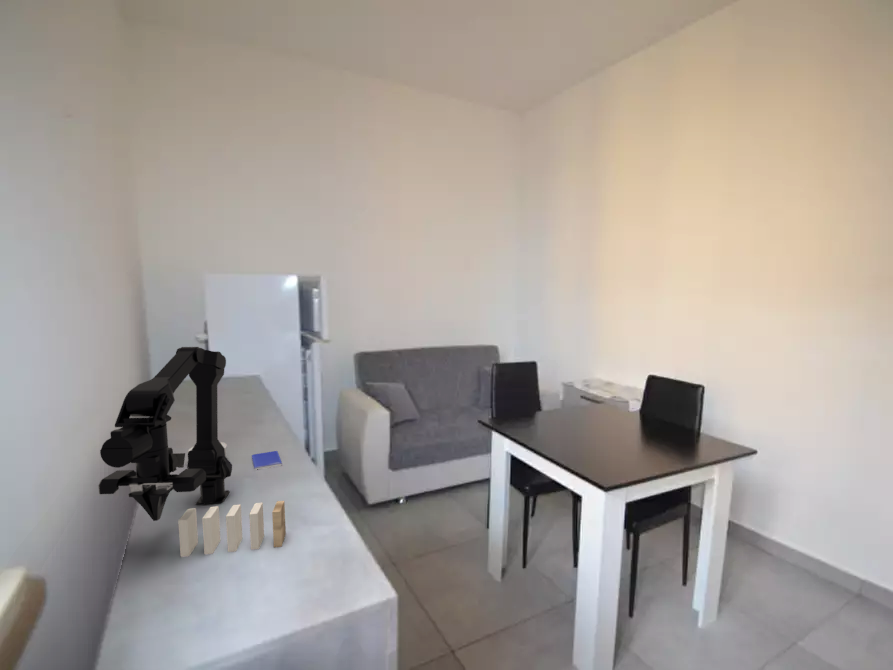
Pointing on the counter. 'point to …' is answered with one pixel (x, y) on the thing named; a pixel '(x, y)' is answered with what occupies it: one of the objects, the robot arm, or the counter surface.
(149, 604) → the counter surface
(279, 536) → the maple domino
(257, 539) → the domino
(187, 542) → the domino
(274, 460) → the hard drive
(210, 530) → the domino
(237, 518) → the domino
